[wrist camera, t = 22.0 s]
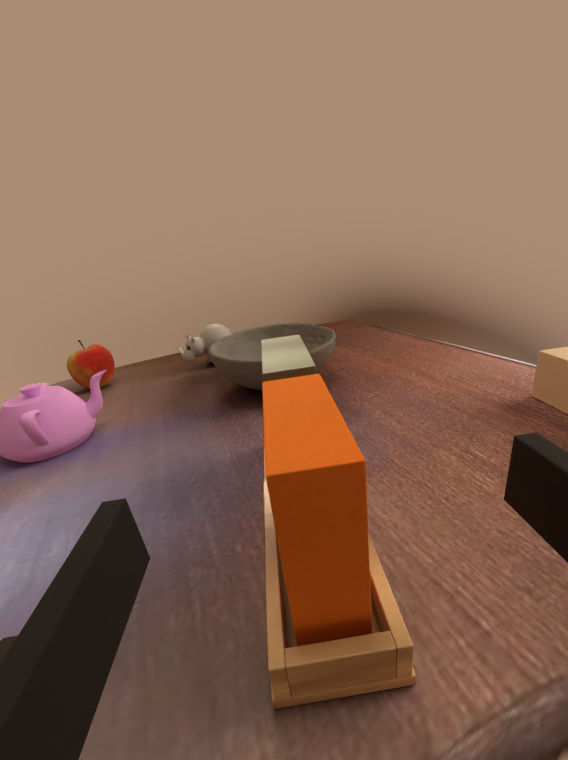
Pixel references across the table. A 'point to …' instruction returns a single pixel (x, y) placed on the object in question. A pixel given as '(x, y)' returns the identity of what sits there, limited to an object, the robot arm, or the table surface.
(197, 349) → the round bodied animal figurine
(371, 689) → the pad holder
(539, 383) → the pad riser
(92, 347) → the apple
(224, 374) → the bowl
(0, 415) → the teapot
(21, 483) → the table surface
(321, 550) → the orange rectangular block
